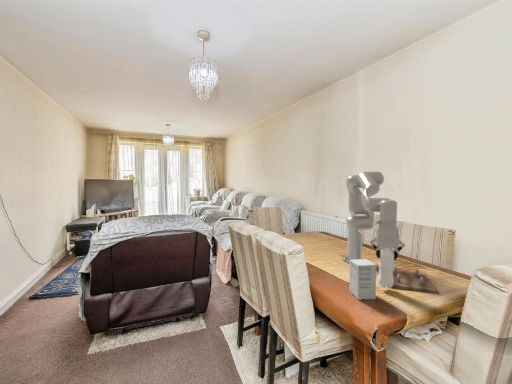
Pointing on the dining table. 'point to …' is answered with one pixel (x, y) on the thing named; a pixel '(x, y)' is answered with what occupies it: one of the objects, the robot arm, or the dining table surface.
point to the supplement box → (362, 279)
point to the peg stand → (413, 282)
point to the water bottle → (386, 267)
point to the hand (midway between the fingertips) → (386, 258)
